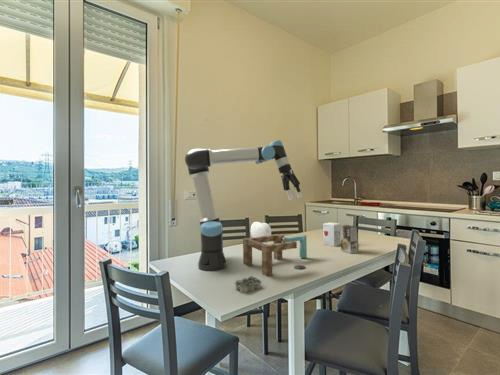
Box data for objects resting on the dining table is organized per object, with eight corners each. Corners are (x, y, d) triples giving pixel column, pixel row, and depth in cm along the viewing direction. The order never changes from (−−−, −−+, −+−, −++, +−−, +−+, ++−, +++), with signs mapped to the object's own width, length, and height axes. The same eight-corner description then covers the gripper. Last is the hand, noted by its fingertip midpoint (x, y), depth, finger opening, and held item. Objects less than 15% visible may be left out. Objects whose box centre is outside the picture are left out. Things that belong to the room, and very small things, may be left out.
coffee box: (358, 252, 171) (358, 226, 170) (350, 253, 168) (350, 227, 168) (348, 249, 179) (348, 224, 179) (340, 250, 177) (340, 225, 177)
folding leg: (285, 261, 152) (285, 238, 152) (281, 259, 156) (280, 237, 156) (308, 257, 160) (307, 235, 160) (303, 255, 164) (303, 234, 163)
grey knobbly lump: (242, 294, 111) (242, 284, 111) (232, 288, 117) (232, 279, 117) (263, 288, 117) (263, 278, 117) (253, 283, 124) (252, 273, 123)
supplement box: (322, 244, 194) (322, 223, 194) (329, 242, 200) (329, 222, 200) (334, 246, 187) (333, 224, 187) (341, 244, 193) (340, 223, 193)
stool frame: (267, 276, 130) (266, 247, 130) (243, 263, 152) (242, 238, 152) (308, 268, 142) (307, 241, 142) (280, 257, 164) (280, 233, 164)
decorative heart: (275, 247, 188) (275, 222, 187) (263, 250, 181) (263, 224, 181) (258, 243, 202) (258, 220, 202) (247, 245, 195) (246, 221, 195)
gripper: (297, 158, 155) (310, 194, 153) (282, 168, 179) (293, 199, 177) (285, 162, 153) (298, 198, 151) (271, 171, 177) (283, 202, 175)
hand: (295, 198), depth 164 cm, fingers open, 13 cm apart
